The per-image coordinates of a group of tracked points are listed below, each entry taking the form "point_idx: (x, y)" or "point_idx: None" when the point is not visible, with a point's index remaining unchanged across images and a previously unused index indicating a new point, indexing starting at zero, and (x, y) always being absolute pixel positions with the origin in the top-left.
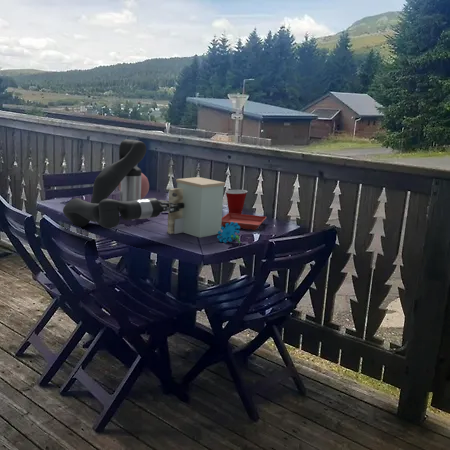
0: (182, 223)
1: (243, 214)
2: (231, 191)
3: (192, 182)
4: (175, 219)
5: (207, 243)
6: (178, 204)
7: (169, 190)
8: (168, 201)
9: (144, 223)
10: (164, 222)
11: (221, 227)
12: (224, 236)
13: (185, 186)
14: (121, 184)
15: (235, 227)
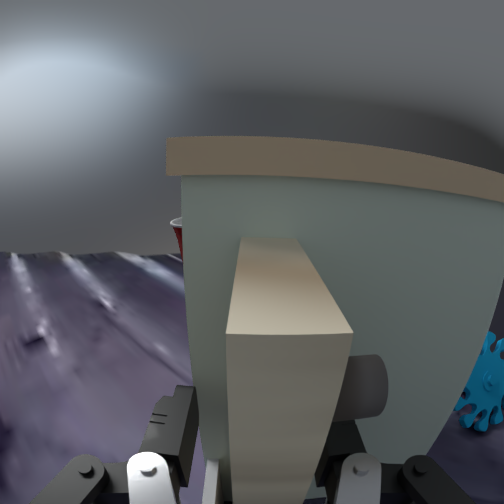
0: None
1: None
2: (177, 222)
3: (432, 157)
4: None
5: (493, 474)
6: (427, 463)
7: (249, 366)
8: (170, 455)
9: (10, 481)
10: (75, 427)
11: None
12: (490, 404)
13: (332, 209)
14: None
15: (499, 351)
